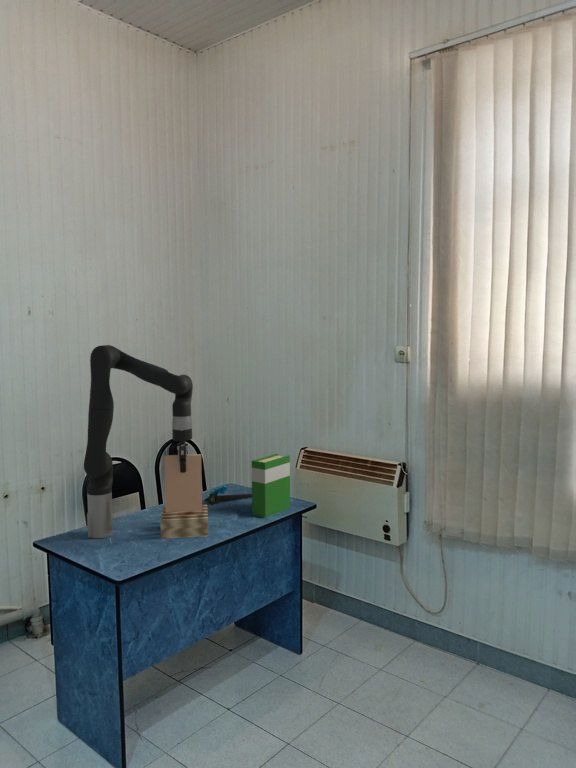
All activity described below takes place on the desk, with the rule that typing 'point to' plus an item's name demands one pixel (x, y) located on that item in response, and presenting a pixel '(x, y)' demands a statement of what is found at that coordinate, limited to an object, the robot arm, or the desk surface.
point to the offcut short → (189, 513)
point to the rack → (184, 524)
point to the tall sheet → (183, 484)
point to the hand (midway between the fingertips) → (183, 471)
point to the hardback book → (270, 485)
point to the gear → (218, 491)
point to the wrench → (226, 498)
